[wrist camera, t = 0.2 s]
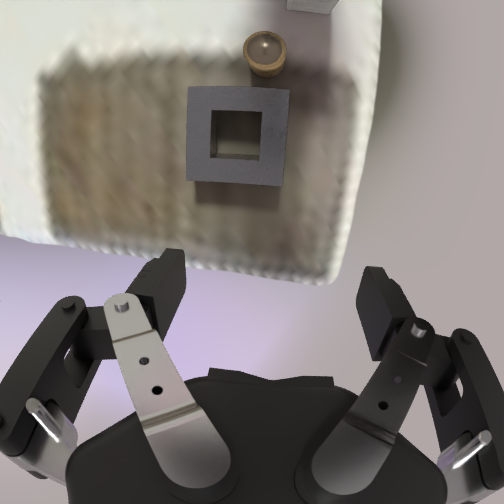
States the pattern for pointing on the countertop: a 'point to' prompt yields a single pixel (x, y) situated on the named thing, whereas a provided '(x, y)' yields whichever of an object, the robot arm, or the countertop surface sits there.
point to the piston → (265, 53)
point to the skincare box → (312, 5)
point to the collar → (233, 165)
